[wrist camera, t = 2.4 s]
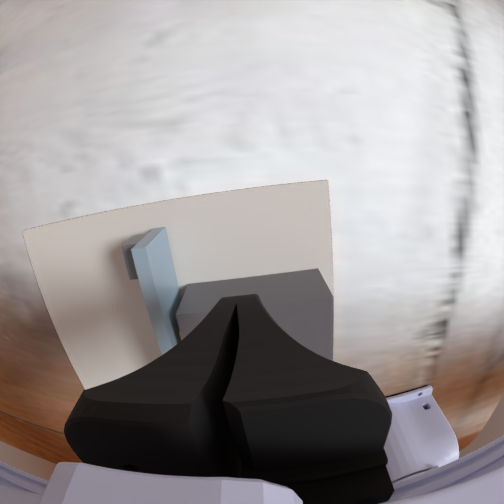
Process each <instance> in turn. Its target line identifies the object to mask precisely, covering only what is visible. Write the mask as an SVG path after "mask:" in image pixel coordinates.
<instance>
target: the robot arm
mask: <svg viewBox="0 0 504 504" xmlns="http://www.w3.org/2000/svg"><path fill="white" fill-rule="evenodd" d="M432 390H433V388H432V387H431V386H426V387H423V388H420V389H416V390H413V391H410V392H406V393H403V394H399V395H395V396H392V397H388V398H385V396H384V394H383V393H382V391H381V390H380V388H379V387H378V385H377V384H376V383H375V381H374V380H373V378H372V377H371V376H370V374H369V373H368V372H367V371H363V370H360V369H356V368H353V367H349V366H346V365H342V364H339V363H337V362H334V361H332V360H329V359H327V358H324V357H322V356H320V355H318V354H316V353H314V352H313V351H311V350H309V349H307V348H306V347H304V346H303V345H301V344H300V343H298V342H297V341H296V340H294V339H293V338H292V337H291V336H290V335H288V334H287V333H286V332H285V331H284V330H283V329H282V328H281V327H280V326H279V325H278V324H277V323H276V322H275V321H274V319H273V318H272V317H271V316H270V314H269V313H268V312H267V310H266V309H265V307H264V306H263V304H262V302H261V300H260V297H259V296H258V295H257V294H249V295H240V296H231V297H222V298H221V299H220V300H219V301H218V302H217V304H216V305H215V306H214V307H213V308H212V310H211V311H210V312H209V313H208V314H207V316H206V317H205V318H204V319H203V320H202V321H201V322H200V323H199V324H198V325H197V326H196V327H195V328H194V329H193V330H192V331H191V332H190V333H189V334H188V335H187V336H186V337H185V338H184V339H183V340H182V341H180V342H179V343H178V344H177V345H175V346H174V347H173V348H171V349H170V350H169V351H167V352H166V353H165V354H163V355H161V356H160V357H158V358H157V359H155V360H153V361H152V362H150V363H148V364H147V365H145V366H143V367H142V368H140V369H138V370H136V371H134V372H132V373H129V374H127V375H125V376H123V377H120V378H118V379H116V380H113V381H110V382H107V383H104V384H101V385H98V386H95V387H92V388H89V389H86V390H84V391H83V392H82V394H81V396H80V398H79V399H78V401H77V403H76V405H75V407H74V408H73V410H72V412H71V414H70V416H69V418H68V420H67V421H66V423H65V427H64V433H65V437H66V440H67V442H68V443H69V445H70V446H71V448H72V449H73V451H74V452H75V453H76V454H77V456H78V457H79V458H80V459H81V460H82V462H83V463H74V462H60V463H58V464H57V465H56V467H55V469H54V470H53V473H52V475H51V477H50V479H49V481H47V480H44V479H42V478H39V477H36V476H34V475H31V474H28V473H26V472H23V471H21V470H19V469H16V468H14V467H12V466H9V465H7V464H5V463H3V462H0V504H504V435H503V436H502V437H500V438H498V439H496V440H495V441H493V442H491V443H489V444H487V445H485V446H484V447H482V448H480V449H478V450H476V451H474V452H472V453H470V454H468V455H466V456H464V457H462V458H459V447H458V442H457V438H456V435H455V433H454V431H453V429H452V428H451V426H450V424H449V423H448V421H447V419H446V418H445V416H444V414H443V412H442V411H441V409H440V408H439V406H438V404H437V403H436V401H435V399H434V398H433V396H432V395H431V394H432Z"/></svg>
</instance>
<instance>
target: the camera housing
mask: <svg viewBox="0 0 504 504" xmlns="http://www.w3.org/2000/svg"><path fill="white" fill-rule="evenodd" d="M249 294H257V295H258V296H259V297H260V300H261V302H262V304H263V306H264V307H265V309H266V310H267V312H268V313H269V314H270V316H271V317H272V318H273V319H274V321H275V322H276V323H277V324H278V325H279V326H280V327H281V328H282V329H283V330H284V331H285V332H286V333H287V334H288V335H290V336H291V337H292V338H293V339H294V340H296V341H297V342H298V343H300V344H301V345H303V346H304V347H306V348H307V349H309V350H311V351H313V352H314V353H316V354H318V355H320V356H322V357H324V358H327V359H329V360H332V361H333V321H334V312H333V295H332V293H331V291H330V289H329V288H328V286H327V284H326V282H325V280H324V278H323V276H322V275H321V273H320V271H319V269H318V268H316V269H309V270H301V271H293V272H285V273H277V274H269V275H261V276H252V277H244V278H235V279H227V280H218V281H209V282H200V283H191V284H188V286H187V288H186V291H185V293H184V295H183V298H182V300H181V303H180V305H179V308H178V310H177V312H176V318H177V322H178V326H179V329H180V330H179V335H180V338H181V341H182V340H183V339H184V338H185V337H186V336H187V335H188V334H189V333H190V332H191V331H192V330H193V329H194V328H195V327H196V326H197V325H198V324H199V323H200V322H201V321H202V320H203V319H204V318H205V317H206V316H207V314H208V313H209V312H210V311H211V310H212V308H213V307H214V306H215V305H216V304H217V302H218V301H219V300H220V299H221V298H222V297H231V296H240V295H249Z"/></svg>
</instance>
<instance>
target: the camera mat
mask: <svg viewBox="0 0 504 504" xmlns="http://www.w3.org/2000/svg"><path fill="white" fill-rule="evenodd" d="M160 227H166V231H167V236H168V241H169V246H170V250H171V255H172V260H173V264H174V269H175V273H176V277H177V282H178V286H179V290H180V294H181V299H182V298H183V295H184V293H185V291H186V288H187V286H188V284H191V283H200V282H209V281H218V280H227V279H235V278H244V277H252V276H261V275H269V274H277V273H285V272H293V271H301V270H309V269H316V268H318V269H319V271H320V273H321V275H322V276H323V278H324V280H325V282H326V284H327V286H328V288H329V289H330V291H331V293H332V295H333V312H334V286H333V251H332V230H331V213H330V198H329V185H328V180H319V181H308V182H298V183H289V184H279V185H271V186H262V187H254V188H246V189H238V190H231V191H223V192H216V193H209V194H202V195H196V196H189V197H183V198H177V199H171V200H165V201H159V202H153V203H147V204H142V205H136V206H131V207H126V208H121V209H115V210H110V211H105V212H100V213H96V214H91V215H86V216H81V217H77V218H72V219H68V220H63V221H59V222H55V223H50V224H46V225H42V226H38V227H34V228H30V229H26V230H24V231H23V235H24V239H25V243H26V246H27V250H28V253H29V257H30V260H31V263H32V267H33V270H34V273H35V276H36V279H37V282H38V285H39V288H40V291H41V293H42V296H43V299H44V302H45V304H46V307H47V309H48V312H49V314H50V317H51V319H52V322H53V324H54V327H55V329H56V331H57V334H58V336H59V338H60V340H61V343H62V345H63V347H64V349H65V351H66V353H67V356H68V358H69V360H70V362H71V364H72V366H73V368H74V370H75V372H76V374H77V375H78V377H79V379H80V381H81V383H82V385H83V387H84V389H85V390H86V389H89V388H92V387H95V386H98V385H101V384H104V383H107V382H110V381H113V380H116V379H118V378H120V377H123V376H125V375H127V374H129V373H132V372H134V371H136V370H138V369H140V368H142V367H143V366H145V365H147V364H148V363H150V362H152V361H153V360H155V359H157V358H158V357H160V356H161V355H162V354H161V351H160V348H159V345H158V342H157V339H156V336H155V333H154V330H153V327H152V324H151V320H150V317H149V314H148V311H147V307H146V304H145V300H144V297H143V293H142V290H141V286H140V283H139V279H134V280H130V279H129V275H128V271H127V268H126V264H125V260H124V256H123V252H122V248H121V245H122V244H123V243H125V242H126V241H127V240H128V239H129V238H131V237H132V236H133V235H138V234H145V233H149V232H150V231H151V230H152V229H154V228H160ZM333 345H334V321H333Z"/></svg>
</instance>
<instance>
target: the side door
mask: <svg viewBox="0 0 504 504" xmlns="http://www.w3.org/2000/svg"><path fill="white" fill-rule="evenodd" d="M121 248H122V252H123V256H124V260H125V264H126V268H127V271H128V275H129V279H130V280H134V279H139V283H140V286H141V290H142V293H143V297H144V300H145V304H146V307H147V311H148V314H149V317H150V320H151V324H152V327H153V330H154V333H155V336H156V339H157V342H158V345H159V348H160V351H161V354H162V355H163V354H165V353H166V352H167V351H169V350H170V349H171V348H173V347H174V346H175V345H177V344H178V343H179V342H180V341H181V338H180V335H179V330H180V329H179V326H178V322H177V318H176V312H177V310H178V308H179V305H180V303H181V300H182V299H181V294H180V290H179V286H178V282H177V277H176V273H175V269H174V264H173V260H172V255H171V250H170V246H169V241H168V236H167V231H166V227H160V228H154V229H152V230H151V231H150V232H149V233H145V234H138V235H133V236H132V237H131V238H129V239H128V240H127V241H126V242H125V243H123V244H122V245H121Z"/></svg>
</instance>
